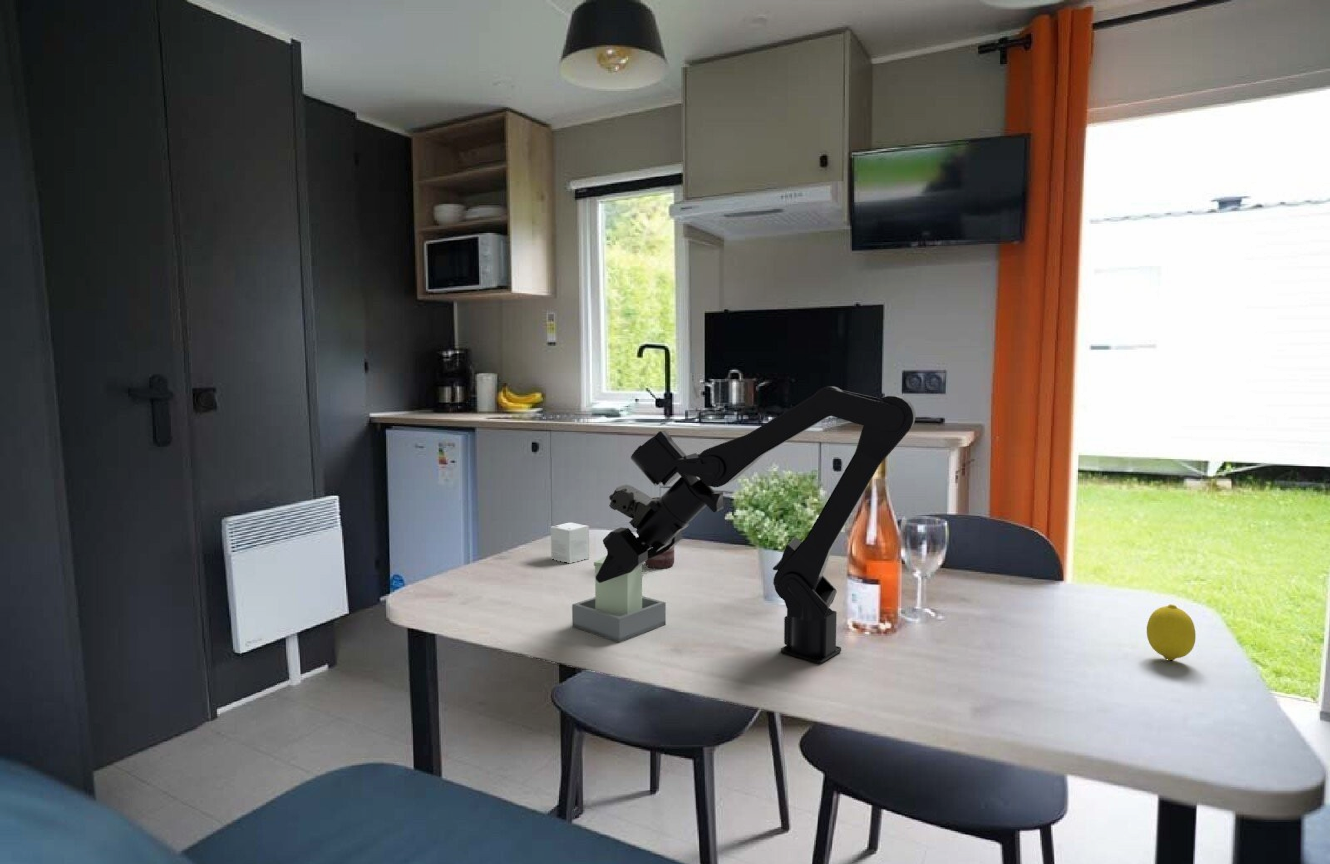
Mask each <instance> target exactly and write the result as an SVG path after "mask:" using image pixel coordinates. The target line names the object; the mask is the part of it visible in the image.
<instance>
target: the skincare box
mask: <svg viewBox="0 0 1330 864" xmlns="http://www.w3.org/2000/svg"><path fill="white" fill-rule="evenodd" d="M550 550H551V551H550V553H551V560H552V559H554V560H553V561H556V560H557V562H560V561H561V563H564V562H567V563H566V564H568V563H571V562H575V563H578V562H577V561H579V562H582V561H581V560H583V561H585V560H584V559H587V560H588V558H589V559H590V555H591V554H590V526H589V525H586V524H585V525H584V524H580V523H575V522H565V523H562V524H561V523H560V524H557V525H552V526H550ZM571 564H572V563H571Z"/></svg>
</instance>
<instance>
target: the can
mask: <svg viewBox="0 0 1330 864" xmlns="http://www.w3.org/2000/svg"><path fill="white" fill-rule="evenodd" d="M651 498H652V499H654V500H658V499H659V498H660V497H658V496H657V497H651ZM644 563H645V566H646V567H648V568H650V569H655V570H656V569H658V570H659V569H668V568H672V567H673V566H674V564H675V546H674V547H672V548H671V549H669V550H668V551H666V552H664V553H662V554H660V555H657V556H655V557H652V558H650V559H647V560H646V561H645V562H644Z"/></svg>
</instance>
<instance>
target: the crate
mask: <svg viewBox="0 0 1330 864" xmlns="http://www.w3.org/2000/svg"><path fill="white" fill-rule="evenodd" d="M571 604H572V605H571V611H572V612H571V613H572V614H571V615H572V619H571V622H572V628H575V629H578V630H581V631H584V632H588V633H590V634H593V635H596V636H599V637H601V638H604V639H605V638H606V639H608V640H611V641H613V642H617V643H620V644H621V643H622V642H624V641H627V640H630V639H633V638H635V637H637V636H640V635H643V634H645V633H648V632H650V631H653V630H655V629H657V628H660V627H663V626H666V623H667V619H666V613H667V612H666V611H667V609H666V602H665V601H662V600H658V599H654V598H651V597H647V596H643V595H642V609H640V610H637V611H634V612H631V613H628V614H625V615H623V616H620V617H619V616H616V615H612V614H609V613H606V612H603V611H599V610H596V608H595V596H594V597H591V598H587V599H585V600H582V601H578V602H575V603H571Z"/></svg>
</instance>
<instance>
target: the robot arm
mask: <svg viewBox="0 0 1330 864" xmlns="http://www.w3.org/2000/svg"><path fill="white" fill-rule="evenodd" d="M830 417H834V418H837V419H840V420H844V421H847V422H850V423H853V424H856V425H860V426H862V430H861V431H860V435H859V439H858V441H857V445H856V449H855V451H854V454H853V456H852V457H851V459H850V460H849V462H848V465H847V466H846V468H845V469H844V472H842V475H841V476H840V478H839V479H838V482H837V483H836V485H835V487H834V489H833V490H832V492H831V494H830V496H829V497H828V499H827V501H826V502H825V504H824V506H823V508H822V510H821V511H820V512H819V515H818V516H817V518H816V519H815V522H814V524H813V525H812V527H811V529H810V530H809V532H808V534H807V536H806V537H805V538H804V539H803V540H800V539H799V538H798V537H797V536H794V537H793V538H792V539H791V540H790V541H789V542H788V543H787V544H786V545H785V548H784V550H783V552H782V556H781V558H780V560H779V561H778V562H777V563H776V564H775V565H774V566H773V567H772V570H773V571H776V572H775V574H774V576H773V580H772V581H773V583H772V584H773V586H774V590H775V592H776V594H777V595H778V597H779V598H780V599H782V600H783V602H784V603H785V606H786V615H785V616H784V618H783V621H784V623H783V624H784V625H783V629H784V630H783V631H784V633H783V644H784V646H783V647H781V648H780V653H781V654H785V655H789V656H792V657H794V658H795V657H796V658H799V659H801V660H805V661H809V662H811V663H814V664H815V663H816V664H823V663H824V662H825V661H827V660H829V659H831V658H832V657H834V656H835V655H837V654H839V653H840V652H842V647H841V646H838V645H837V611H836V610H832V608H830V606H831V605H832V604H833V603H834V601H835V597H836V595H837V589H836V588H835V587H834V585H832V584H831V582H830V581H829V580H828V579H827V578H826V577H825V576H824V573H825V570H826V568H827V565H828V561H829V558H830V555H831V552H832V548H833V546H834V544H835V542H836V540H837V538H838V537H839V536H840V533H841V532H842V530H843V528H844V527H845V525H846V523H847V522H848V520H849V518H850V516H851V515H852V513H853V511H854V509H855V508H856V506H857V504H858V502H859V501H860V500H861V498H862V496H863V494H864V493H865V491H866V490H867V488H868V487H869V484H870V482H871V481H872V479H873V477H874V476H875V474H876V472H877V470H878V469H879V467H880V466H881V464H882V463H883V462H884V461H885V459H886V458H887V457H888V456H889V455H890V454H891V453H892V451H893V450H894V449H895V448H896V447H897V446H898V445H899V443H900V442H901V441H902V440H903V439H904V438H905V436H906V435H908V433H909V431H910V430H911V429H912V427H914V424H915V421H916V411H915V408H914V406H913V404H912V403H911V401H910V400H908V399H907V398H906V397H904V396H901V395H898V394H890V395H887V396H884V397H880V398H878V397H874V396H870V395H865V394H860V393H856V392H852V391H848V390H843V389H840V388H839V387H837V386H825V387H821V388H819V389H818V390H817V391H816V392H815V393H814V394H813V395H811V396H810V397H808V398H806V399H805V400H803V401H801V402H800V403H798V404H796V405H794V406H792V407H790V408H789V409H788V410H786V411H784V412H782V413H781V414H779V415H778V416H776V417H774V418H772V419H771V420H769V421H767V422H766V423H764V424H763V425H761V426H759V427H757V428H756V429H754V430H752V431H751V432H749V433H748V434H747V433H746V434H744V435H742V436H739V437H736V438H733V439H731V440H729V441H725V442H722V443H720V444H717V445H714V446H711V447H709V448H707V449H704V450H703V451H701V452H700V453H697V452H694V453H690V454H686V453H685V452H684V451H683V450H682V449H681V448H680V446H678V444H677V443H676V442H675V441H674V440H673V439H672V437H671V434H669V433H668V432H667V430H658V432H657V433H656V434H655V435H654V436H652V437H651V438H649V439H648V440H646V441H645V442H644V443H643V444H640V445H639V446H638V447H637V448H636V449H635V450H634V451H633V453H632V454H631V456H630V460H631V461H632V462H633V463H634V464H635V465H636V467H637V468H639V470H640V472H642V474H644V475H645V477H646V478H647V479H648V480H649V482H651V483H652V484H653V486H654V487H656V486H659V485H662V486H663V487H667V486H669V485H670V484H671V483H673V482H674V481H675V480H676V479H678V480H677V481H675V482H674V483H673V484H672V485H671V486H670V487H669V488H668V489H667V490H666V491H665V493H663V494H662V496H661V497H660V498H659V499H658V500H654V499H652V498H653V497H651V496H649V495H648V494H647V493H645V492H644V491H643V492H642V491H641V490H639V489H637V488H635V487H634V486H632V485H629V484H624V485H620V486H617V487H616V489H615V490H614V492H613V493H612V494H610V495H609V498H608V499H609V500H610V502H609V506H608V507H610V509H612V510H613V511H618V512H619V513H621V514H622V515H625V516H626V517H628V518H631V520H630V521H629V522H628V523H629V524H630V526H631V527H633V529H635V532H636V534H637V536H636V535H635V534H634V532H633V531H632V530H631V529H630V528H629V527H618V528H616V529H614V530H612V531H610V532H609V533H608V534H607V535H606V536H605V537H604V538H603V539H602V542H603V543H602V544H603V545H604V548H605V549H606V552H607V554H606V558H605V560H604V562H603V564H602V566H601V568H600V570H599V572H598V573H597V575H596V577H595V576H594V577H595V578H596V580H597V581H598V582H599V583H602V582H604V581H607V580H610V579H613V578H615V577H618V576H621V575H624V574H627V573H631V572H632V571H634V570H636V569H637V568H638V567H640V566H641V565H642V566H643V565H644V563H645V561H646V560H647V559H650V558H652V557H655V556H657V555H660V554H662V553H664V552H666V551H668V550H669V549H671V548H672V547H674V548H675V546H676V545H678V544H679V543H680V542H681V541H682V539H683V530H685V529H686V528H687V527H689V526H690V522H691V521H693V519H694V518H695V517H696V516H697V515H698V514H699V513H700V512H701V511H702V510H703V509H705V508H706V507H708V508H709V510H711V512H713V513H717V512H718V511H719V512H720V510H722V509H724V500H723V497H724V492H723V491H715V490H714V489H713V488H720V487H722V486H725V485H727V484H729V483H731V482H733V481H735V480H737V479H739V477H741V476H742V475H743V474H744V473H745V472H746V471H748V470H749V469H750V468H751V467H753V465H754V464H755V463H757V462H758V461H759V460H760V459H761V458H762V457H763V456H765V454H767V453H769V452H771V451H772V450H774V449H776V448H777V447H779V446H781V445H782V444H785V443H786V442H788V441H790V440H791V439H793V438H795V437H796V436H799V435H800V434H801V433H803V432H805V431H806V430H809V429H810V428H812V427H814V426H815V425H817V424H819V423H821V422H823V421H824V420H827V418H830ZM679 476H680V478H678V477H679ZM595 578H594V579H595Z"/></svg>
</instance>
